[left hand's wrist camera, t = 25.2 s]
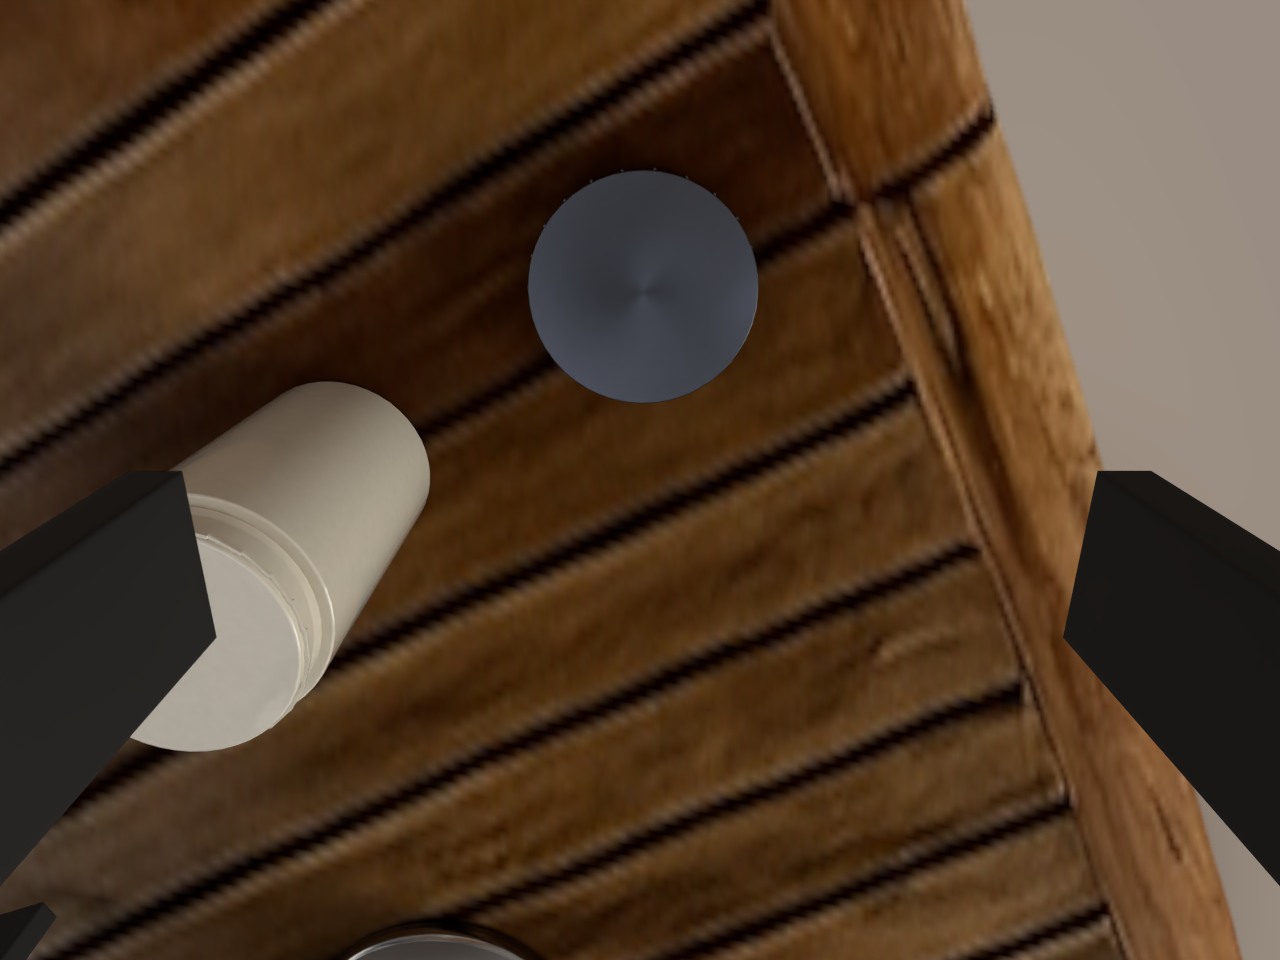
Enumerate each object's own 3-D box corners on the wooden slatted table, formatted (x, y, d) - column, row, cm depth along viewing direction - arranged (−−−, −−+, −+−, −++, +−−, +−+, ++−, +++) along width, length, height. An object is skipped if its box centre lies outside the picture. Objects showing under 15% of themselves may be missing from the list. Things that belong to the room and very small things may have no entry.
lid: (708, 128, 34) (713, 127, 32) (783, 345, 37) (791, 356, 35) (496, 220, 35) (487, 224, 33) (585, 422, 38) (582, 436, 37)
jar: (410, 570, 41) (290, 789, 27) (236, 523, 40) (18, 725, 26) (447, 411, 38) (335, 563, 24) (262, 357, 37) (31, 482, 23)
